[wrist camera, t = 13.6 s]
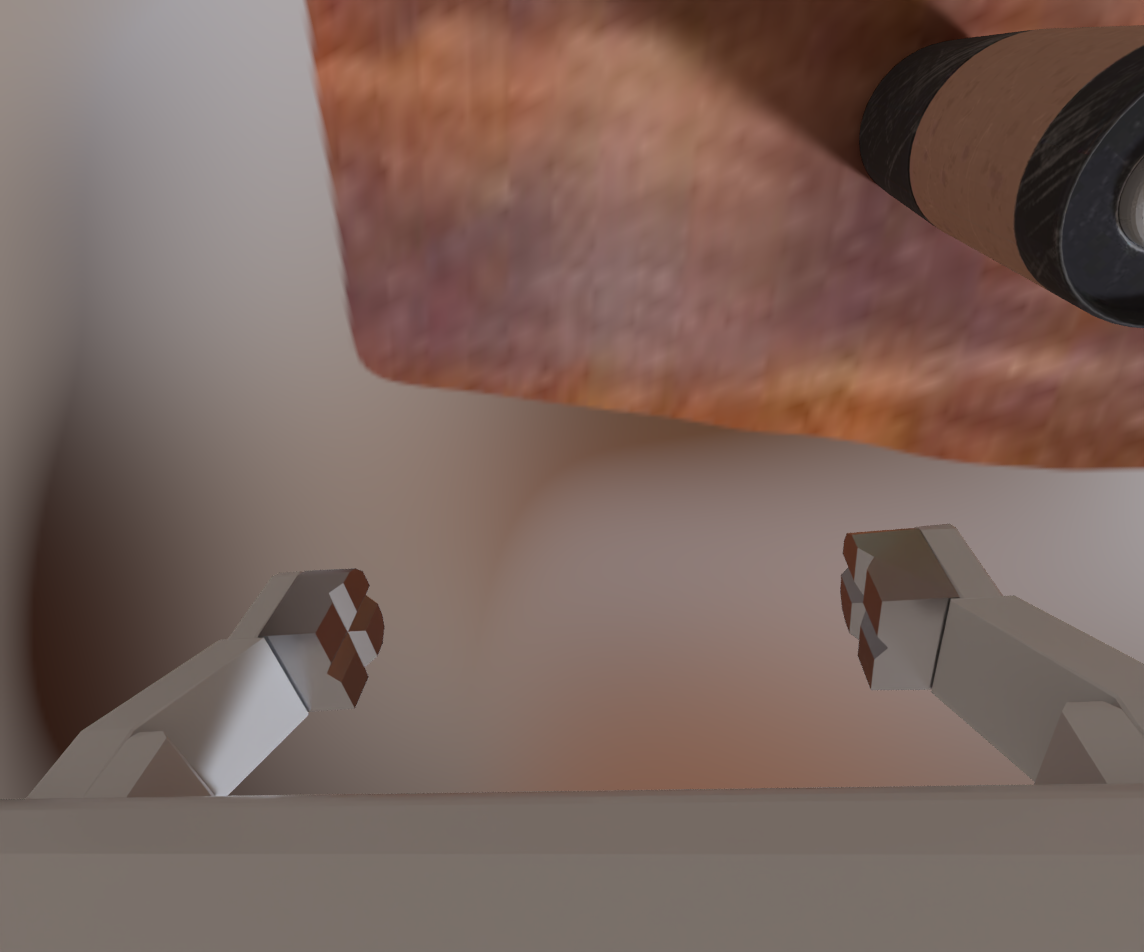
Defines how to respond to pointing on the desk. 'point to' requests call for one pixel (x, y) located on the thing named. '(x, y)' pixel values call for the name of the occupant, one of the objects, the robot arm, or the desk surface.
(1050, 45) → the travel mug
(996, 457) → the desk surface
